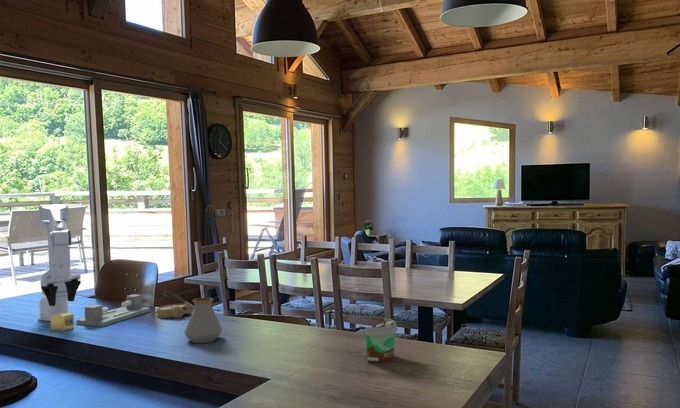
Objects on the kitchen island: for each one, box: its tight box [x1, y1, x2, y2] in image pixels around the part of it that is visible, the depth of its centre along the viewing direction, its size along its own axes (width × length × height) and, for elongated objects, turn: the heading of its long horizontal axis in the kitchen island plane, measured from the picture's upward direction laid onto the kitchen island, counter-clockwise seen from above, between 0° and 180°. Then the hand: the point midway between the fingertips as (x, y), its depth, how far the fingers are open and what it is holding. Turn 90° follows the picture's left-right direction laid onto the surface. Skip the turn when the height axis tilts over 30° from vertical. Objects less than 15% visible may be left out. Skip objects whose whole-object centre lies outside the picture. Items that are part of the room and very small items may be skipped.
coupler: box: [50, 312, 75, 332], centre depth 175 cm, size 4×7×5 cm, turn 70°
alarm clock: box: [153, 303, 194, 319], centre depth 192 cm, size 11×5×15 cm
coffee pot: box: [162, 290, 223, 344], centre depth 161 cm, size 21×12×15 cm, turn 67°
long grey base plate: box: [76, 294, 151, 328], centre depth 190 cm, size 12×24×6 cm, turn 160°
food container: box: [364, 317, 398, 364], centre depth 138 cm, size 12×6×10 cm, turn 148°
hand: (61, 303), depth 175 cm, fingers open, 7 cm apart
